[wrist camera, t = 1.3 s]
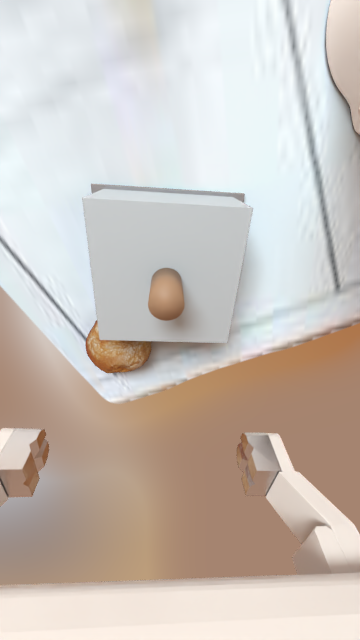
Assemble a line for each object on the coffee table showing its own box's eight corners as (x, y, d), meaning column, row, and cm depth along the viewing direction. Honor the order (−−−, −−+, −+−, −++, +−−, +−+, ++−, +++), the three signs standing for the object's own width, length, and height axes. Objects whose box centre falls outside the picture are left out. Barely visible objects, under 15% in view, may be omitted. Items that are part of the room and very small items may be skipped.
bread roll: (157, 330, 46) (171, 343, 38) (121, 376, 45) (128, 399, 38) (111, 296, 42) (117, 303, 35) (71, 346, 41) (68, 364, 34)
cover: (232, 196, 31) (271, 218, 19) (215, 308, 39) (236, 371, 27) (103, 188, 30) (62, 206, 18) (113, 304, 38) (88, 368, 26)
